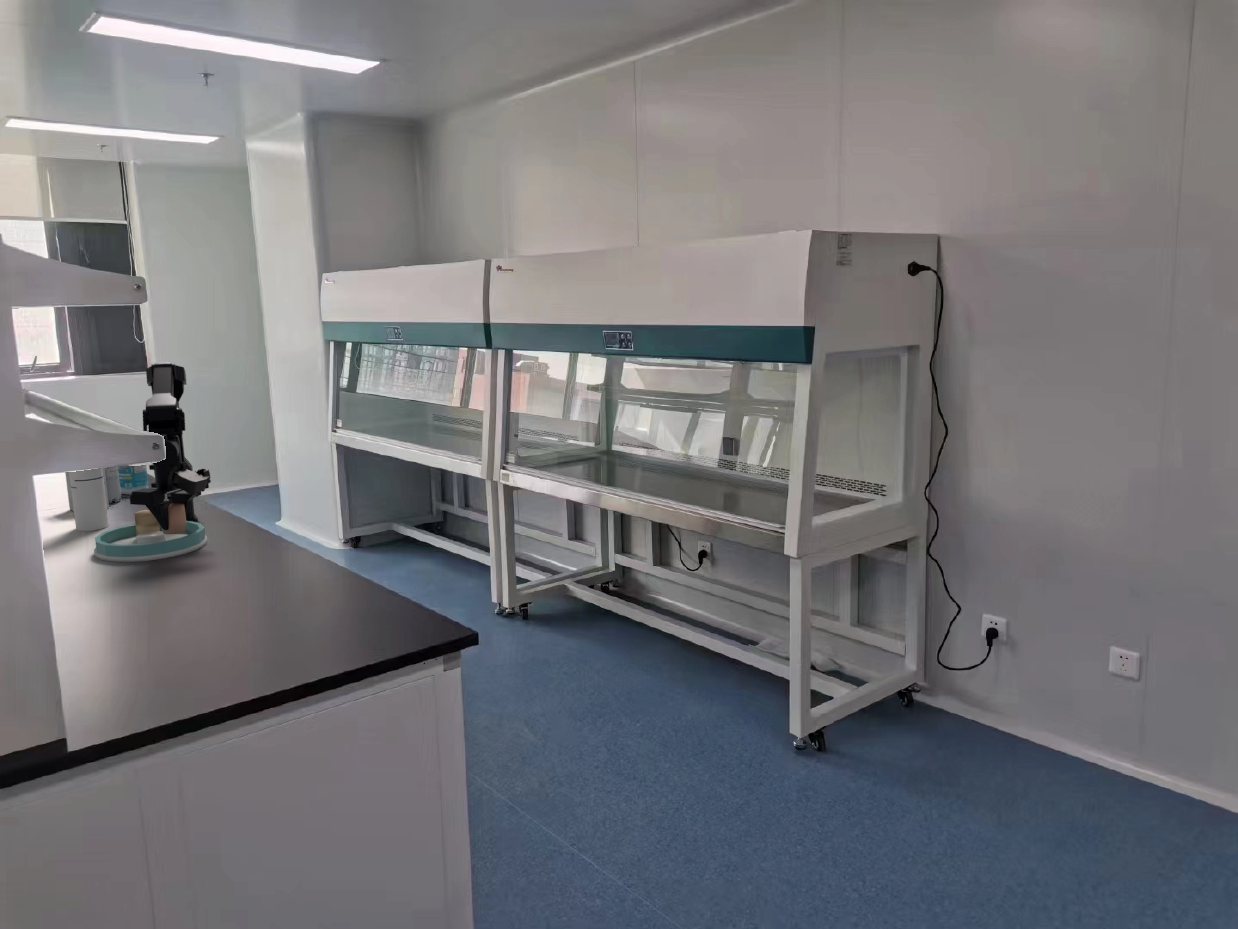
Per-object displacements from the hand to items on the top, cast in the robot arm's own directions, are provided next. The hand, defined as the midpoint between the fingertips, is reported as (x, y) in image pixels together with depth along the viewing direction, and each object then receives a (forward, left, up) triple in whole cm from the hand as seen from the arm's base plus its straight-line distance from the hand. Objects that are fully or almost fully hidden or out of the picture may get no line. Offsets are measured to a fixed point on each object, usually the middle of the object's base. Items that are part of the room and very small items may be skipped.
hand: (174, 527), depth 205 cm
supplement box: (-56, -16, -5) cm, 59 cm away
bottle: (-63, -11, -5) cm, 65 cm away
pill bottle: (-73, -4, -5) cm, 74 cm away
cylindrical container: (-33, -16, -5) cm, 37 cm away
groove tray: (-4, -5, -5) cm, 8 cm away
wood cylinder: (-11, -5, -4) cm, 13 cm away
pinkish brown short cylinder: (0, 0, -1) cm, 1 cm away
